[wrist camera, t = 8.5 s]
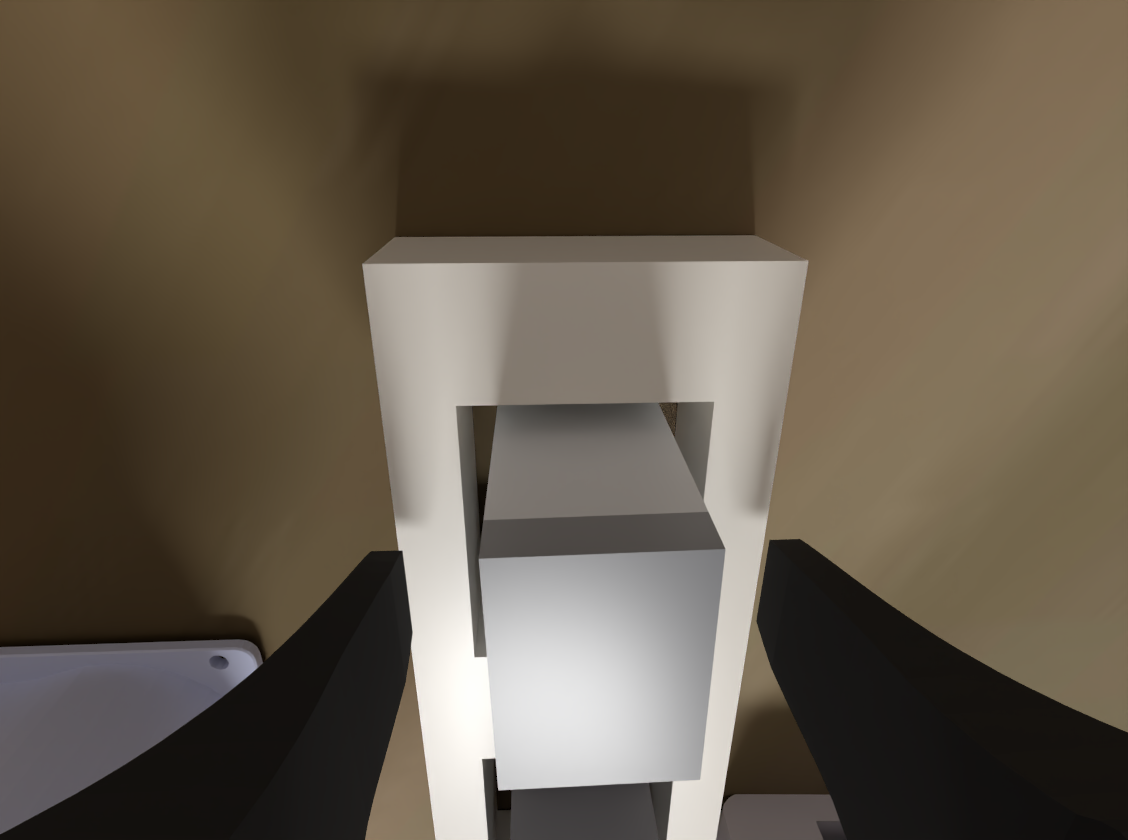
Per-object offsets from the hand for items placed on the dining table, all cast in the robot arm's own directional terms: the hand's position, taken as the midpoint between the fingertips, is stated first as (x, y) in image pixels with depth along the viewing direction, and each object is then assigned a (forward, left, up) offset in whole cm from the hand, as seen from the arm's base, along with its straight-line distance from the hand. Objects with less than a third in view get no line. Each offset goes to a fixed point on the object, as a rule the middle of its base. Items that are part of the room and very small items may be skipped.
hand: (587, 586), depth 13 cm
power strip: (0, -5, -5) cm, 7 cm away
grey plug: (0, 0, -5) cm, 5 cm away
